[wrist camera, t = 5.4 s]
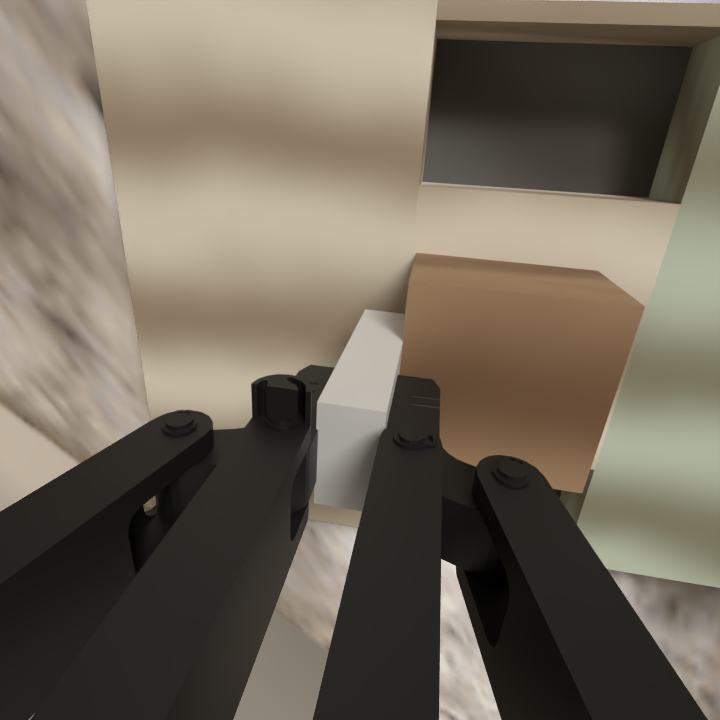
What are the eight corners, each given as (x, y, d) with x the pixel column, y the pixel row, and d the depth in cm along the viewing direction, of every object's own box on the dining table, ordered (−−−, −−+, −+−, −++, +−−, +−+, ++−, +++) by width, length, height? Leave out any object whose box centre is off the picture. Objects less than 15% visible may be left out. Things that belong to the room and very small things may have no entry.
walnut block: (416, 252, 16) (409, 281, 12) (597, 270, 15) (645, 306, 12) (399, 403, 19) (388, 462, 15) (554, 424, 18) (582, 493, 14)
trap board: (141, 16, 17) (2, -46, 12) (1099, 42, 13) (1540, -33, 8) (191, 458, 26) (124, 540, 20) (794, 552, 22) (910, 684, 16)
